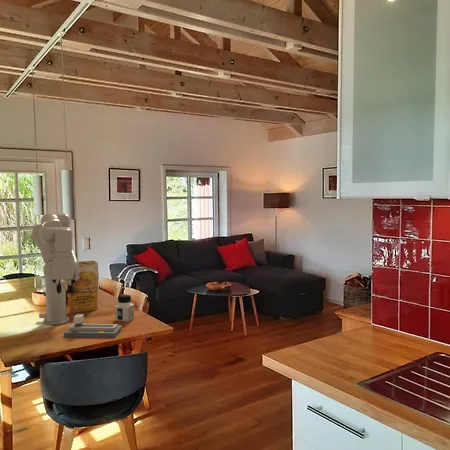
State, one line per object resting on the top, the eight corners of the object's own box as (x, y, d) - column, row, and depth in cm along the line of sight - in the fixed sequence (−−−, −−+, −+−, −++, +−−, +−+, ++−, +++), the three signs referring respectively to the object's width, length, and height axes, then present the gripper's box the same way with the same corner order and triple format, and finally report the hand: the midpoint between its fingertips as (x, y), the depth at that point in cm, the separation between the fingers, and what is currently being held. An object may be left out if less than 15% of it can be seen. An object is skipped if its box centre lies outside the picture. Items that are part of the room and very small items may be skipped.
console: (63, 336, 194) (63, 329, 194) (73, 328, 206) (73, 321, 206) (115, 337, 194) (115, 330, 194) (122, 329, 206) (121, 322, 206)
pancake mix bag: (64, 311, 237) (63, 262, 235) (98, 306, 247) (97, 259, 246) (67, 314, 231) (65, 263, 229) (101, 309, 242) (100, 261, 240)
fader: (73, 329, 198) (73, 316, 197) (77, 326, 203) (77, 313, 202) (80, 329, 198) (79, 316, 197) (83, 326, 203) (83, 313, 202)
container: (128, 321, 218) (128, 297, 218) (114, 320, 220) (114, 296, 219) (134, 317, 226) (134, 293, 225) (121, 316, 228) (120, 292, 227)
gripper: (42, 255, 194) (43, 294, 196) (78, 256, 194) (79, 295, 195) (49, 253, 202) (50, 291, 203) (84, 253, 201) (85, 291, 203)
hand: (64, 292), depth 199 cm, fingers open, 4 cm apart
